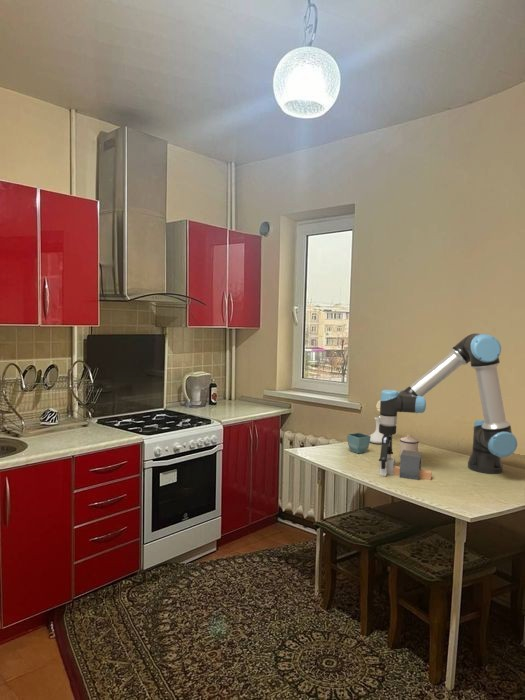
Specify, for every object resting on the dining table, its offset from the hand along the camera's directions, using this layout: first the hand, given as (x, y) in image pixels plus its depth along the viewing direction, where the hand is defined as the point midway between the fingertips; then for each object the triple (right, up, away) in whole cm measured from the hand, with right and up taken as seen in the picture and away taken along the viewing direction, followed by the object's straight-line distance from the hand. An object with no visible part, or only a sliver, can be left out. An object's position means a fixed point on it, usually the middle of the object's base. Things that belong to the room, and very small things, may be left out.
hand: (385, 471), depth 227 cm
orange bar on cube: (+8, -1, -3) cm, 9 cm away
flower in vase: (+10, +3, +54) cm, 55 cm away
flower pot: (-6, +2, +33) cm, 33 cm away
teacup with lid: (+18, +1, +27) cm, 33 cm away
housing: (+10, -1, -4) cm, 11 cm away
